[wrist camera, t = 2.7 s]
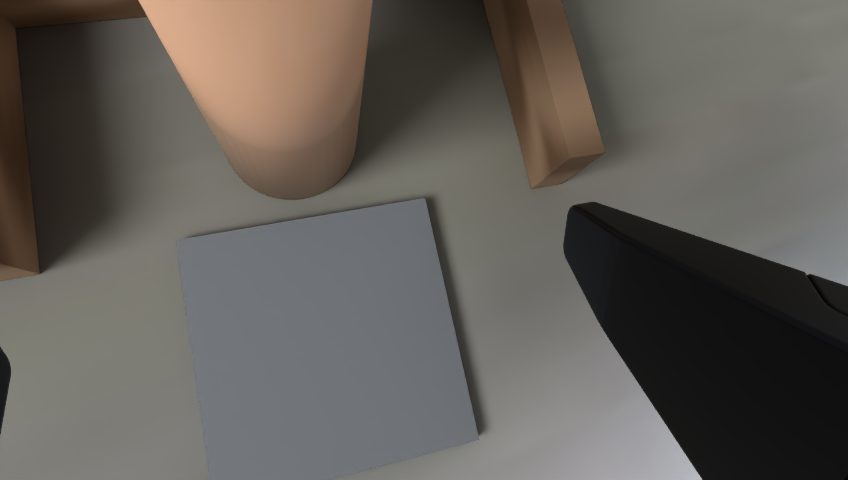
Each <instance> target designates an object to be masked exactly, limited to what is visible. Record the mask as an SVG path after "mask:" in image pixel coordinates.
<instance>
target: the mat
mask: <svg viewBox="0 0 848 480" xmlns="http://www.w3.org/2000/svg"><path fill="white" fill-rule="evenodd" d="M176 246H177V253H178V260H179V267H180V274H181V281H182V288H183V295H184V302H185V309H186V316H187V323H188V330H189V337H190V344H191V351H192V358H193V365H194V372H195V379H196V386H197V393H198V399H199V406H200V413H201V420H202V427H203V434H204V441H205V448H206V455H207V462H208V469H209V476H210V480H331V479H335V478H338V477H342V476H346V475H350V474H353V473H357V472H361V471H364V470H368V469H372V468H376V467H379V466H383V465H387V464H390V463H394V462H398V461H401V460H405V459H409V458H413V457H416V456H420V455H424V454H427V453H431V452H435V451H438V450H442V449H446V448H450V447H453V446H457V445H461V444H464V443H468V442H472V441H475V440H479V436H478V432H477V427H476V423H475V418H474V414H473V409H472V405H471V401H470V396H469V392H468V387H467V383H466V378H465V374H464V369H463V365H462V360H461V356H460V351H459V347H458V342H457V338H456V334H455V329H454V325H453V320H452V316H451V311H450V307H449V302H448V298H447V293H446V289H445V284H444V280H443V275H442V271H441V267H440V262H439V258H438V253H437V249H436V244H435V240H434V235H433V231H432V226H431V222H430V217H429V213H428V209H427V204H426V200H425V198H421V199H415V200H409V201H403V202H398V203H392V204H386V205H380V206H374V207H368V208H362V209H356V210H350V211H344V212H339V213H333V214H327V215H321V216H315V217H309V218H303V219H297V220H291V221H285V222H280V223H274V224H268V225H262V226H256V227H250V228H244V229H238V230H232V231H227V232H221V233H215V234H209V235H203V236H197V237H191V238H185V239H179V240H176Z"/></svg>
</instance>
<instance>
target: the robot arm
mask: <svg viewBox="0 0 848 480" xmlns="http://www.w3.org/2000/svg"><path fill="white" fill-rule="evenodd" d="M563 247H564V254H565V257H566V260H567V262H568V264H569V266H570V268H571V269H572V271H573V273H574V275H575V277H576V279H577V281H578V283H579V285H580V287H581V289H582V291H583V293H584V295H585V297H586V299H587V301H588V303H589V305H590V307H591V309H592V310H593V312H594V314H595V316H596V318H597V320H598V322H599V323H600V325H601V327H602V329H603V330H604V332H605V333H606V335H607V337H608V338H609V340H610V341H611V343H612V344H613V346H614V347H615V349H616V350H617V352H618V353H619V355H620V356H621V358H622V359H623V361H624V362H625V364H626V365H627V367H628V368H629V370H630V371H631V373H632V374H633V376H634V377H635V379H636V380H637V382H638V383H639V385H640V386H641V388H642V389H643V391H644V392H645V394H646V395H647V397H648V398H649V400H650V401H651V403H652V404H653V406H654V407H655V409H656V410H657V412H658V413H659V415H660V416H661V418H662V419H663V421H664V422H665V424H666V425H667V427H668V429H669V430H670V432H671V433H672V435H673V436H674V438H675V439H676V441H677V442H678V444H679V445H680V447H681V448H682V450H683V451H684V453H685V454H686V456H687V457H688V459H689V460H690V462H691V463H692V465H693V466H694V468H695V469H696V471H697V472H698V474H699V475H700V477H701V478H702V480H848V286H845V285H842V284H839V283H836V282H833V281H830V280H827V279H824V278H821V277H818V276H815V275H812V274H809V275H806V273H805V272H803V271H800V270H797V269H794V268H791V267H788V266H785V265H782V264H779V263H776V262H773V261H770V260H767V259H764V258H761V257H758V256H755V255H752V254H749V253H746V252H743V251H740V250H737V249H734V248H731V247H728V246H725V245H722V244H719V243H716V242H713V241H710V240H707V239H704V238H701V237H698V236H695V235H692V234H689V233H686V232H683V231H680V230H677V229H674V228H671V227H668V226H665V225H662V224H659V223H656V222H653V221H650V220H647V219H644V218H641V217H638V216H635V215H632V214H629V213H626V212H623V211H620V210H617V209H614V208H611V207H608V206H605V205H602V204H599V203H596V202H588V203H583V204H577V205H573V206H572V207H571V208H570V209H569V211H568V215H567V222H566V229H565V237H564V245H563ZM10 377H11V366H10V362H9V360H8V358H7V356H6V354H5V353H4V352H3V350H2V349H1V347H0V434H1V428H2V422H3V417H4V411H5V405H6V400H7V394H8V389H9V383H10Z"/></svg>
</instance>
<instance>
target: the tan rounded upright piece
mask: <svg viewBox="0 0 848 480" xmlns="http://www.w3.org/2000/svg"><path fill="white" fill-rule="evenodd" d="M139 2H140V4H141V6H142V8H143V9H144V11H145V13H146V15H147V17H148V18H149V20H150V22H151V24H152V25H153V27H154V29H155V31H156V33H157V34H158V36H159V38H160V40H161V41H162V43H163V45H164V47H165V49H166V50H167V52H168V54H169V56H170V58H171V59H172V61H173V63H174V65H175V66H176V68H177V70H178V72H179V74H180V75H181V77H182V79H183V81H184V83H185V84H186V86H187V88H188V90H189V91H190V93H191V95H192V97H193V99H194V100H195V102H196V104H197V106H198V107H199V109H200V111H201V113H202V115H203V116H204V118H205V120H206V122H207V124H208V125H209V127H210V129H211V131H212V132H213V134H214V136H215V138H216V140H217V141H218V143H219V145H220V147H221V149H222V150H223V152H224V154H225V156H226V157H227V159H228V161H229V163H230V165H231V166H232V168H233V170H234V171H235V172H236V174H237V175H238V176H239V177H240V178H241V179H242V180H243V181H244V182H245V183H246V184H247V185H249V186H250V187H251V188H253V189H254V190H256V191H258V192H260V193H262V194H264V195H267V196H270V197H274V198H278V199H285V200H297V199H305V198H309V197H313V196H315V195H318V194H321V193H322V192H324V191H326V190H328V189H329V188H331V187H332V186H334V185H335V184H336V183H337V182H338V181H339V180H340V179H341V178H342V177H343V176H344V175H345V173H346V172H347V170H348V169H349V167H350V165H351V163H352V161H353V158H354V155H355V150H356V143H357V135H358V126H359V117H360V108H361V99H362V91H363V82H364V73H365V64H366V55H367V46H368V38H369V29H370V20H371V11H372V2H373V0H139Z"/></svg>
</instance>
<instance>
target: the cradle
mask: <svg viewBox="0 0 848 480" xmlns="http://www.w3.org/2000/svg"><path fill="white" fill-rule="evenodd" d="M483 3H484V7H485V11H486V14H487V18H488V22H489V26H490V30H491V34H492V38H493V42H494V45H495V49H496V53H497V57H498V61H499V65H500V69H501V73H502V76H503V80H504V84H505V88H506V92H507V96H508V100H509V104H510V107H511V111H512V115H513V119H514V123H515V127H516V131H517V135H518V138H519V142H520V146H521V150H522V154H523V158H524V162H525V165H526V169H527V173H528V177H529V181H530V185H531V189H534V188H539V187H545V186H551V185H557V184H562V183H563V182H565V181H566V180H568V179H569V178H570V177H572V176H573V175H575V174H576V173H577V172H579V171H580V170H581V169H583V168H584V167H586V166H587V165H588V164H590V163H591V162H593V161H594V160H595V159H597V158H598V157H600V156H601V155H602V154H604V153H605V150H604V147H603V143H602V140H601V136H600V133H599V129H598V126H597V122H596V119H595V115H594V112H593V108H592V105H591V101H590V98H589V94H588V91H587V87H586V83H585V80H584V76H583V73H582V69H581V66H580V62H579V59H578V55H577V52H576V48H575V45H574V41H573V38H572V34H571V31H570V27H569V24H568V20H567V17H566V13H565V10H564V6H563V3H562V0H483ZM146 16H147V15H146V13H145V11H144V9H143V8H142V6H141V4H140V2H139V0H0V281H3V280H8V279H14V278H20V277H26V276H32V275H37V274H40V270H39V260H38V250H37V240H36V230H35V220H34V210H33V200H32V190H31V180H30V170H29V160H28V150H27V140H26V130H25V120H24V110H23V100H22V91H21V81H20V71H19V61H18V51H17V41H16V31H15V28H22V27H33V26H44V25H56V24H67V23H78V22H90V21H101V20H112V19H123V18H135V17H146Z"/></svg>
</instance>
